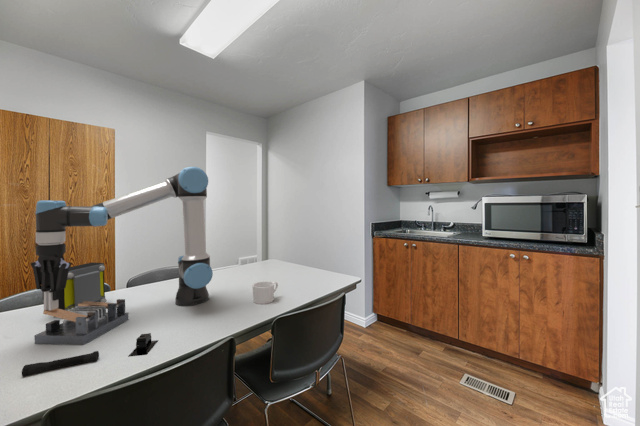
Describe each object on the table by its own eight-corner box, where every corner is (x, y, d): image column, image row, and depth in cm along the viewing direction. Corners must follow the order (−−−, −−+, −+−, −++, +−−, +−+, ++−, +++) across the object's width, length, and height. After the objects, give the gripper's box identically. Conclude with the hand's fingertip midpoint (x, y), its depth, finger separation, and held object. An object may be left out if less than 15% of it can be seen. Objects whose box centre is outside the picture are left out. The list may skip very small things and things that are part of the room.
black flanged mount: (141, 341, 95) (141, 328, 95) (163, 339, 96) (163, 326, 96) (122, 361, 83) (121, 346, 83) (148, 358, 84) (147, 344, 84)
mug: (259, 306, 126) (259, 289, 125) (249, 300, 134) (248, 284, 133) (283, 299, 135) (283, 283, 134) (272, 294, 142) (272, 279, 142)
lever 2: (117, 306, 110) (117, 303, 110) (111, 309, 107) (111, 306, 107) (84, 303, 111) (84, 301, 111) (77, 306, 108) (78, 303, 108)
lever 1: (87, 319, 97) (88, 316, 97) (79, 323, 94) (80, 319, 94) (52, 310, 98) (52, 307, 98) (43, 313, 95) (43, 310, 95)
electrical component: (68, 318, 114) (66, 272, 114) (49, 316, 116) (48, 271, 116) (108, 303, 131) (107, 263, 131) (91, 302, 133) (90, 262, 133)
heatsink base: (128, 319, 112) (127, 298, 112) (83, 344, 92) (82, 318, 92) (87, 319, 113) (86, 298, 113) (34, 343, 93) (33, 318, 93)
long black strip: (27, 373, 77) (27, 362, 77) (99, 358, 84) (99, 348, 84) (21, 379, 75) (21, 368, 75) (96, 363, 82) (95, 353, 82)
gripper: (79, 242, 99) (79, 305, 99) (44, 241, 100) (44, 304, 100) (58, 245, 91) (58, 314, 92) (20, 244, 92) (20, 312, 93)
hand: (51, 308), depth 96 cm, fingers closed
